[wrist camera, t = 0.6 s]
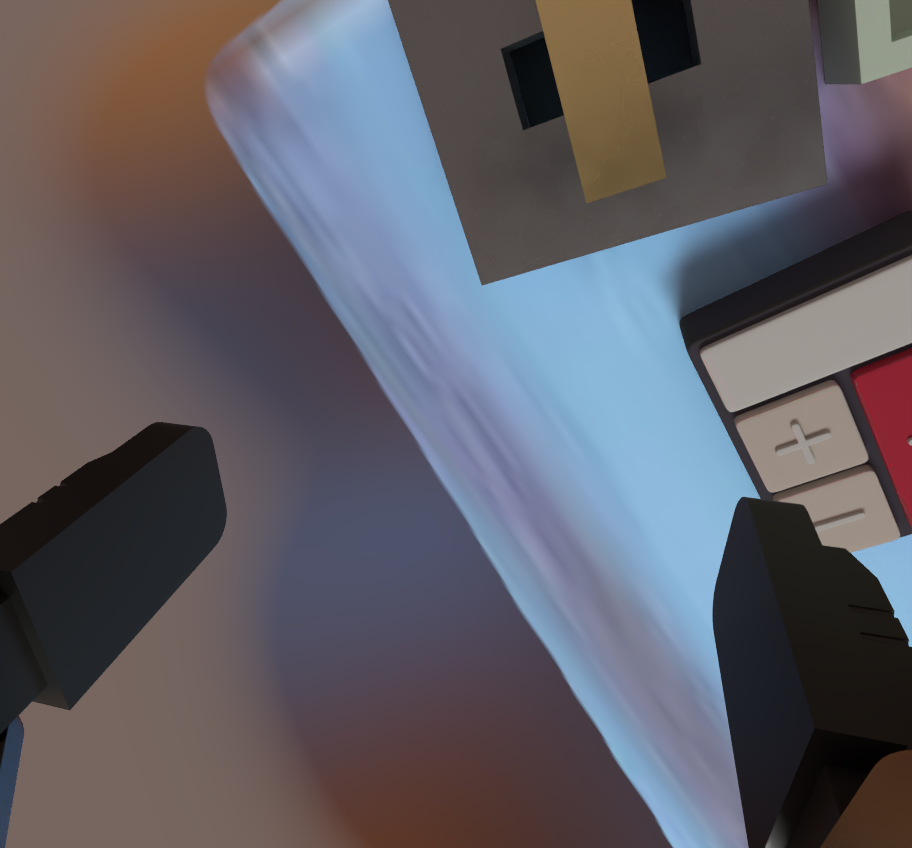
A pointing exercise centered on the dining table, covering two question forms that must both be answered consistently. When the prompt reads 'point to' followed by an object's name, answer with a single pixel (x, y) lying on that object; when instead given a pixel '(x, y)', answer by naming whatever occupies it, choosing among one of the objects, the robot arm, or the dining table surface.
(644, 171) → the t key
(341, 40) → the dining table surface
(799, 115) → the lock block
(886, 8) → the tray
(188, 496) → the robot arm
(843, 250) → the calculator
